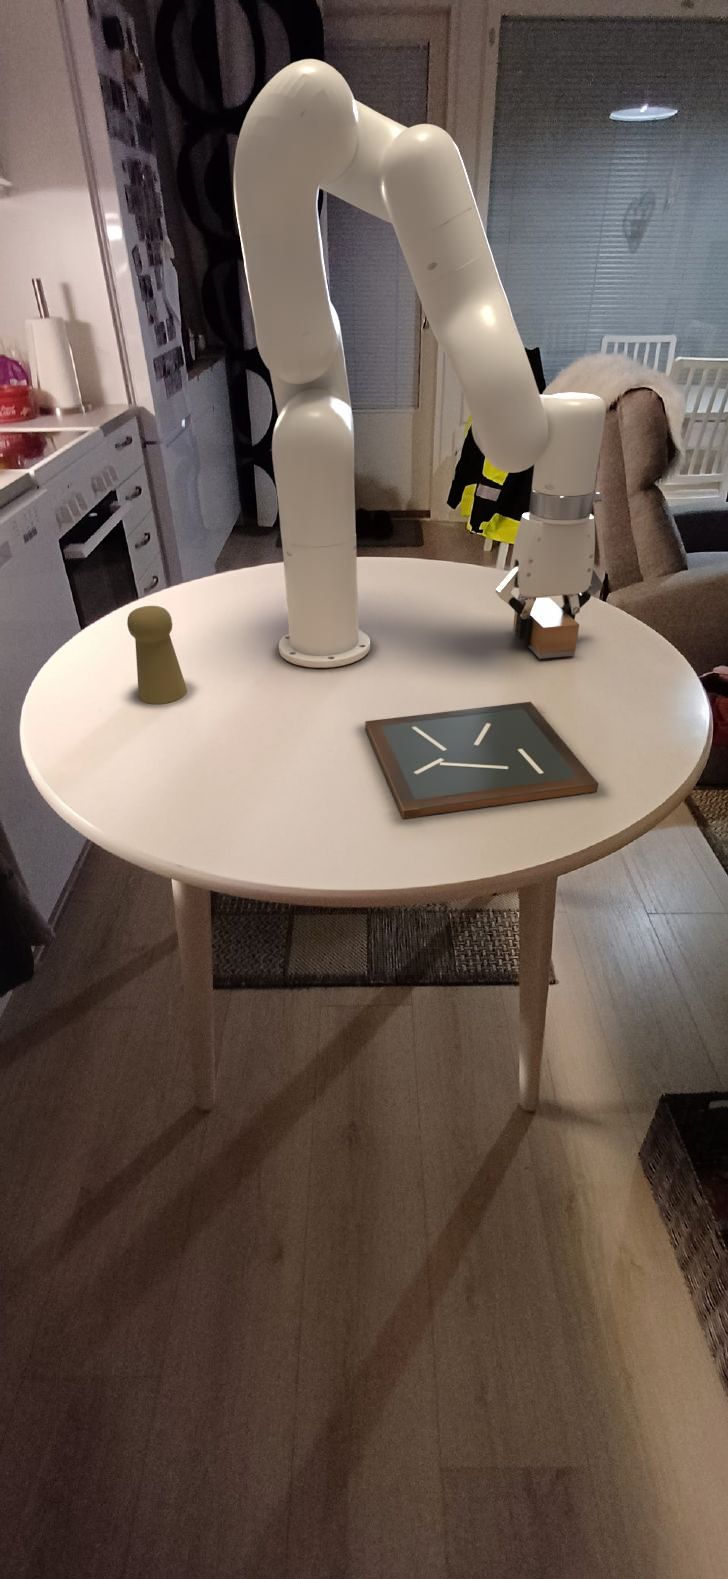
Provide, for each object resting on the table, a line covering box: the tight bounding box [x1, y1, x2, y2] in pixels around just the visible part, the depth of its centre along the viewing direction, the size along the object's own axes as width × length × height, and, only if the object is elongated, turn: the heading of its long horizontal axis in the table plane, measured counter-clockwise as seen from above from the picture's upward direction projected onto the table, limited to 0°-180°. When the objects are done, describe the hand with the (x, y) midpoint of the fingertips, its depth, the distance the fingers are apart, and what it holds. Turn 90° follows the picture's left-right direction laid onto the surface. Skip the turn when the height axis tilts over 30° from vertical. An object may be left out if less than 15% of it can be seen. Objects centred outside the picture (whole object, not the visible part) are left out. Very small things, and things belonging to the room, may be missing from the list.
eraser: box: [512, 597, 580, 660], centre depth 106 cm, size 10×5×4 cm, turn 12°
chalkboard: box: [364, 701, 599, 819], centre depth 83 cm, size 18×20×1 cm
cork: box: [126, 605, 188, 705], centre depth 94 cm, size 6×6×11 cm
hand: (542, 639), depth 107 cm, fingers closed on eraser, 5 cm apart
